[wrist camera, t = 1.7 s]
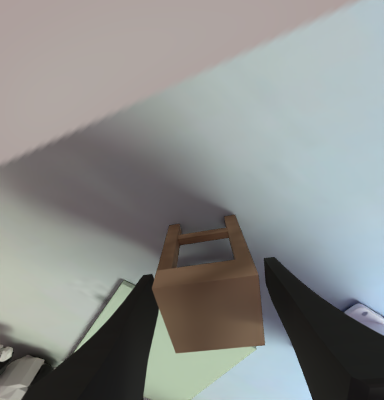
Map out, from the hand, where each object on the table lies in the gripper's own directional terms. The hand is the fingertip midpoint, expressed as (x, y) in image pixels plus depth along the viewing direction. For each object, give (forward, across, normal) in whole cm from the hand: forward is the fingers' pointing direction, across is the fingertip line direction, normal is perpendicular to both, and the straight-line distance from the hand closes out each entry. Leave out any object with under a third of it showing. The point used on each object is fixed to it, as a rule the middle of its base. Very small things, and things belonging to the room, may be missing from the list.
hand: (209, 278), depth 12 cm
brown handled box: (+3, 0, 0) cm, 3 cm away
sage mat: (+3, +8, +13) cm, 15 cm away
